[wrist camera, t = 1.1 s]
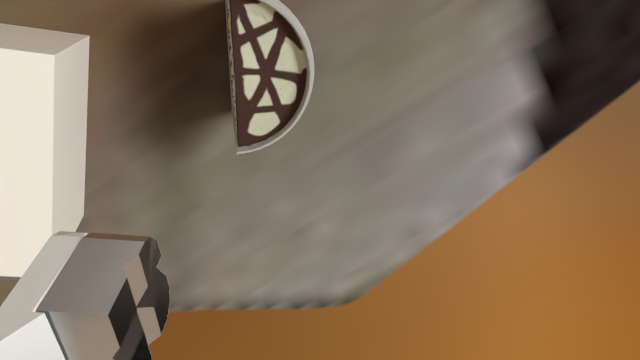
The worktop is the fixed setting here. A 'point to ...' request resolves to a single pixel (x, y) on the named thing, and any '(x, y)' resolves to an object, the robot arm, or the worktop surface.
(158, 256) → the robot arm
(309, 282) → the worktop surface
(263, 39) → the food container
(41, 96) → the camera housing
